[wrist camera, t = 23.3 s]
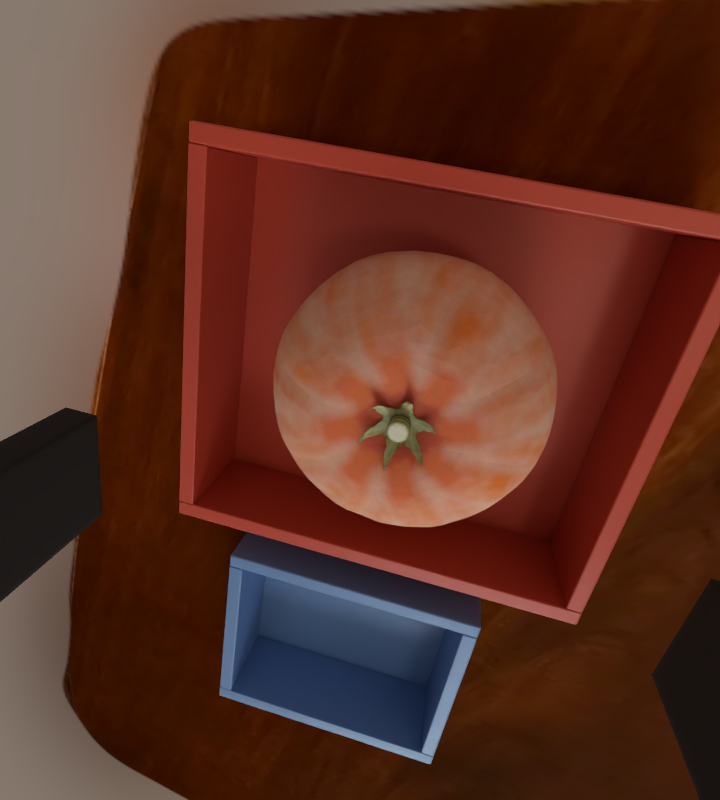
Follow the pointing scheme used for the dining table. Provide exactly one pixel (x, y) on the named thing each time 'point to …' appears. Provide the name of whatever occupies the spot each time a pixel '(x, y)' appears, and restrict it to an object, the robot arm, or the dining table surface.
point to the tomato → (415, 388)
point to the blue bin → (345, 645)
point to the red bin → (498, 253)
